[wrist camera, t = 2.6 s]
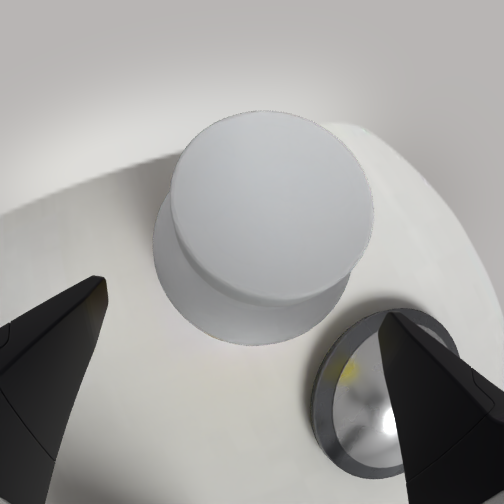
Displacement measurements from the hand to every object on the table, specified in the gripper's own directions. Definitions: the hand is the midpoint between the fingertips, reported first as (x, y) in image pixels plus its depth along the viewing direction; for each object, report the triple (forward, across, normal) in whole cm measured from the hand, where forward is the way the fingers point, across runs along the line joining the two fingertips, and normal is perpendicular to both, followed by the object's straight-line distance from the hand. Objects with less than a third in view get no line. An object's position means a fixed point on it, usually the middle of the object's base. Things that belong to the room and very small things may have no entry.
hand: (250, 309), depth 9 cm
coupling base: (+4, -11, +10) cm, 15 cm away
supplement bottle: (+8, 0, +5) cm, 10 cm away
